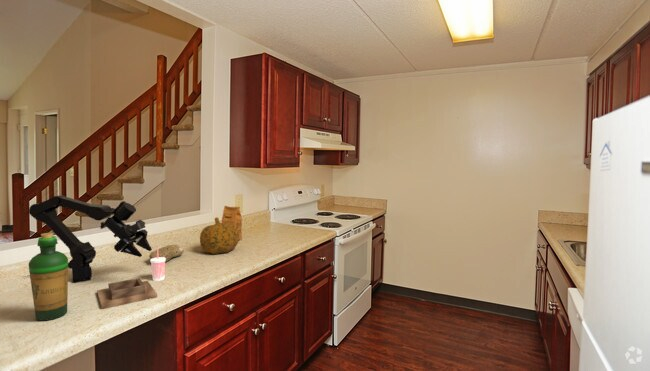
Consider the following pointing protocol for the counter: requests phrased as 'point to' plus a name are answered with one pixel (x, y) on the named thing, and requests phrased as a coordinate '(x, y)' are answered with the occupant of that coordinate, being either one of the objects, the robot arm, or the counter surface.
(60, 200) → the robot arm
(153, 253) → the tan rounded lump
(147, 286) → the cup holder
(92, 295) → the counter surface
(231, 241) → the decorative pumpkin
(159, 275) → the beverage cup
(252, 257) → the counter surface
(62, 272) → the bottle
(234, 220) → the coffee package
